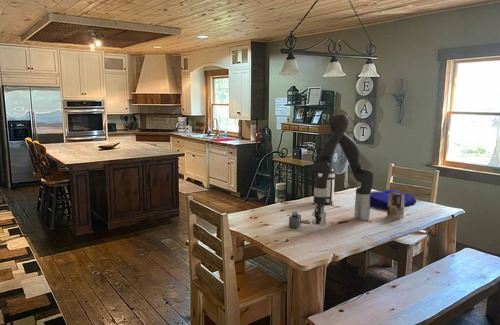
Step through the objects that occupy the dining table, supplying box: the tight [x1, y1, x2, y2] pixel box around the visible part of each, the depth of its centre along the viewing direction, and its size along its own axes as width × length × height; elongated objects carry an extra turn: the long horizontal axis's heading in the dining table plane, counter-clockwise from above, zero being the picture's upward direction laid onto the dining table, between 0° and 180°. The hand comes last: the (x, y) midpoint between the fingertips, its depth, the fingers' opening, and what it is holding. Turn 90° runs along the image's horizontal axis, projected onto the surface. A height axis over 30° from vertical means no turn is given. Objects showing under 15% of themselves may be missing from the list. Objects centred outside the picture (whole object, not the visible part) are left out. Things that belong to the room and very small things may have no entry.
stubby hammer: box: [288, 211, 312, 230], centre depth 228 cm, size 12×8×9 cm, turn 65°
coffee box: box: [386, 192, 405, 220], centre depth 252 cm, size 9×6×16 cm
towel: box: [370, 189, 417, 211], centre depth 285 cm, size 26×36×9 cm
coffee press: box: [317, 167, 336, 206], centre depth 281 cm, size 17×16×30 cm
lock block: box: [311, 209, 327, 227], centre depth 223 cm, size 7×5×8 cm
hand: (318, 222), depth 224 cm, fingers closed on lock block, 5 cm apart
